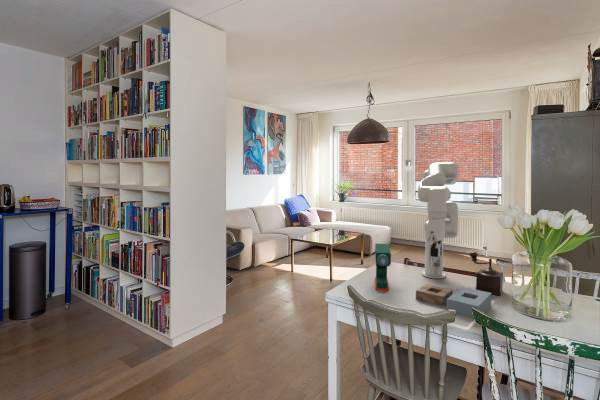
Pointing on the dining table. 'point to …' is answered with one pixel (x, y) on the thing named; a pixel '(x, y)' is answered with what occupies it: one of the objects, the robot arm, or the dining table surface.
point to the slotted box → (469, 301)
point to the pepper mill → (488, 278)
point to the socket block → (433, 294)
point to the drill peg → (437, 259)
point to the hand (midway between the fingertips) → (436, 255)
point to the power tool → (382, 266)
